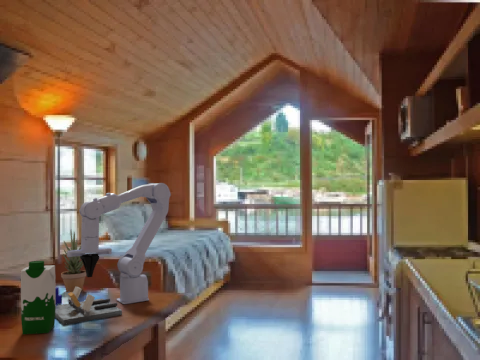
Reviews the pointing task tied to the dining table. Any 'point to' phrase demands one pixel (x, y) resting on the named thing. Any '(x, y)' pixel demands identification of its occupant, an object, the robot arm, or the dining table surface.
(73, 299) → the orange paddle
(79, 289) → the ivory paddle
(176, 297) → the dining table surface
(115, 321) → the dining table surface
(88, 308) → the ivory paddle
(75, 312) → the panel
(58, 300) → the cable clip
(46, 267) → the milk carton
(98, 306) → the cords
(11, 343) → the dining table surface
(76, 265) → the potted plant
